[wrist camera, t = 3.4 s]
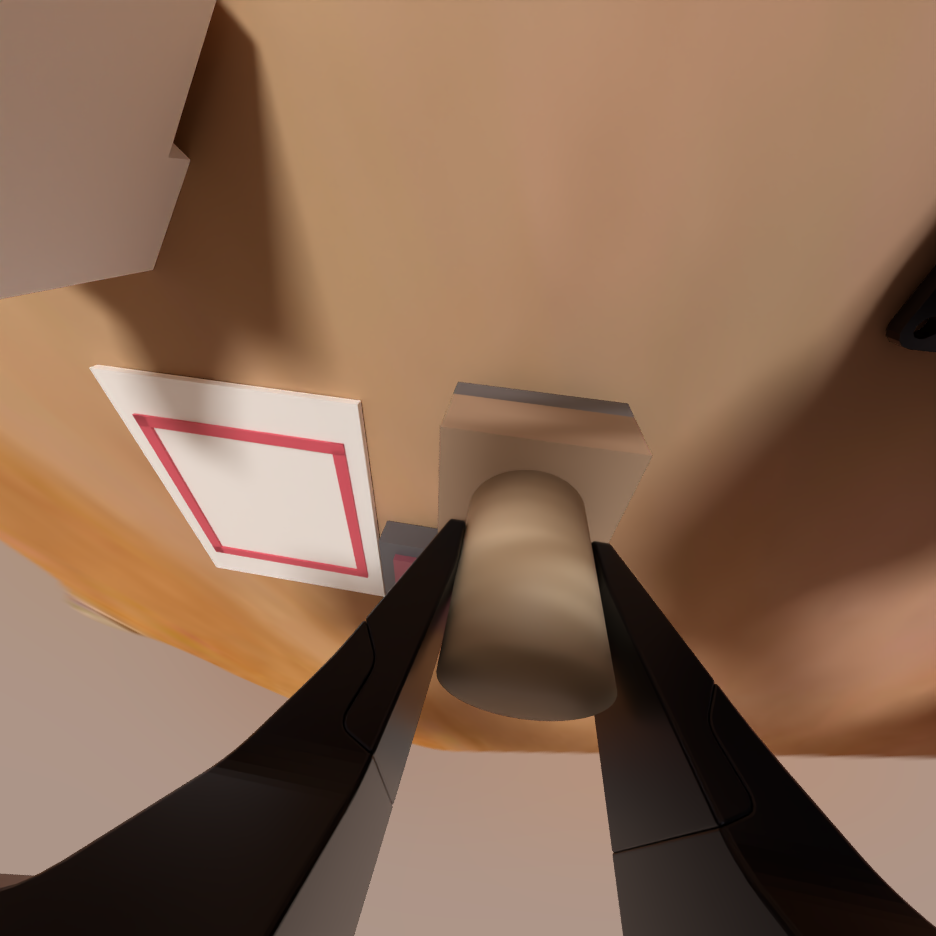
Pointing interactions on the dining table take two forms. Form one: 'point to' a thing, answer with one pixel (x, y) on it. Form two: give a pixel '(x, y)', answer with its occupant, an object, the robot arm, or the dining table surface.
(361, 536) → the paper card
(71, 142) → the bracket
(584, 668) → the stamp
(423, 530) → the ink pad
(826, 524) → the dining table surface
